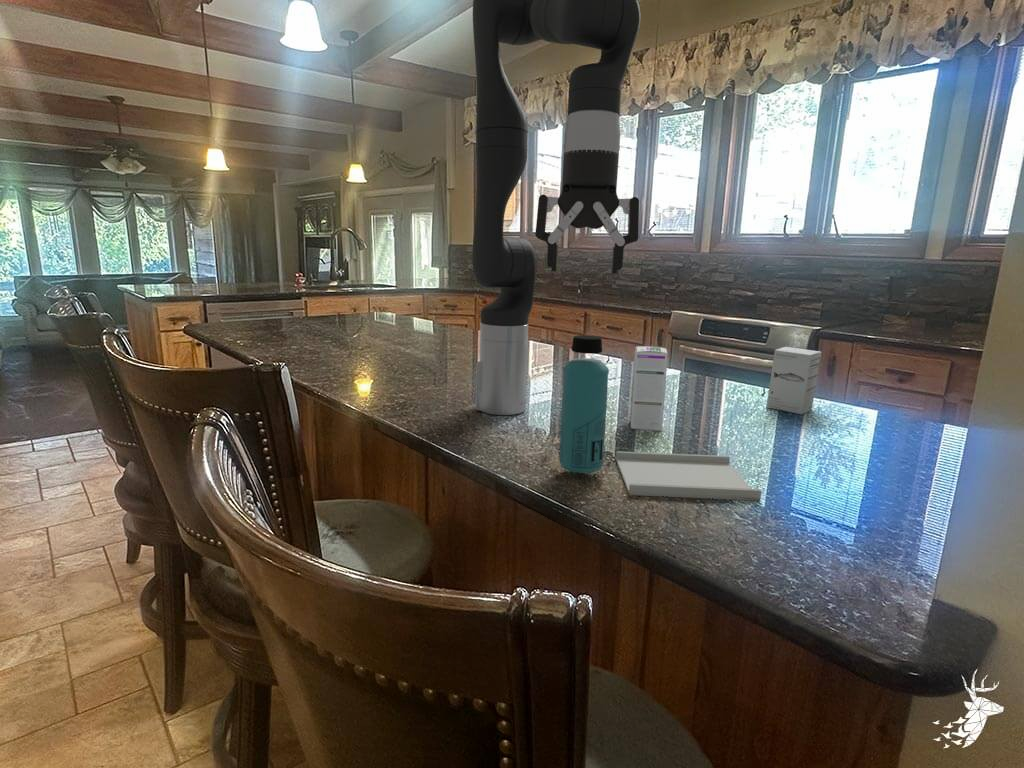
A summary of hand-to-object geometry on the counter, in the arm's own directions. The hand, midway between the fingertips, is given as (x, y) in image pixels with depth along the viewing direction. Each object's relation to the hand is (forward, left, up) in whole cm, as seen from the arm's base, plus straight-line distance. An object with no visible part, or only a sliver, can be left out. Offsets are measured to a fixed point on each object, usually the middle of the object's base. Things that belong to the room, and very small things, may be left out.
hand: (584, 272), depth 82 cm
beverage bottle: (+2, -6, -28) cm, 29 cm away
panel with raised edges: (+16, -3, -28) cm, 32 cm away
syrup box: (+9, +22, -28) cm, 37 cm away
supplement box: (+37, +47, -28) cm, 66 cm away
